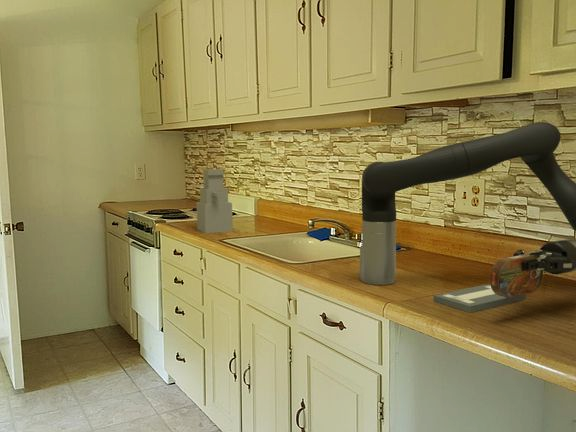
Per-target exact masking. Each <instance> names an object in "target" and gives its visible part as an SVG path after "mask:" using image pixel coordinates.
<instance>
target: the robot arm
mask: <svg viewBox="0 0 576 432" xmlns="http://www.w3.org/2000/svg"><path fill="white" fill-rule="evenodd" d="M561 136H562V135H561V132H560V130H559V128H558V127H557V126H555V125H554V124H552V123H550V122H547V121H538V122H533V123H529V124H526V125H523V126H521V127H518V128H515V129H512V130H508V131H506V132H503V133H499V134H493V135H489V136H484V137H480V138H475V139H471V140H470V139H469V140H465V141H460V142H457V143H452V144H448V145H445V146H441V147H437V148H435V149H432V150H430V151H427V152H425V153H421V154H420V155H417V156H415V157H410V158H407V159H406V158H405V159H400V160H392V161H374V162H372V163H370V164H368V165H367V166H366V167H365V168H364V170H363V171H362V177H361V213H362V214H361V215H362V216H361V217H362V218H361V219H362V222H361V223H362V224H361V225H362V226H361V230H362V231H361V232H362V233H361V236H362V237H361V238H362V239H361V240H362V241H361V246H360V247H359V279H360V280H361V281H362V283H365V284H369V285H375V286H384V285H385V286H387V285H392V284H395V283H396V269H397V268H396V266H397V265H396V264H397V263H396V262H397V260H396V258H397V256H396V255H397V244H396V243H397V207H396V193H397V192H399V191H402V190H406V189H409V188H411V187H416V186H420V185H425V184H434V183H442V182H447V181H452V180H457V179H462V178H465V177H469V176H473V175H477V174H479V173H482V172H484V171H486V170H488V169H490V168H493V167H495V166H497V165H499V164H501V163H503V162H505V161H509V160H514V159H518V158H520V159H521V160H522V161H523V162H524V164H525V165H526V166H527V168H529V169H530V170H531V172H532V173H534V175H535V176H536V177H537V179H538V180H539V181H540V183H542V185H543V186H544V187H545V188H546V189H547V192H549V194H550V195H551V197H552V198H553V200H554V201H555V203H556V204H557V206H558V207H559V209H560V210H561V213H563V215H564V217H565V219H566V220H567V222H568V223H569V224H570V227H571V228H572V229H573V231H575V232H576V182H575V181H573V179H572V178H570V177H569V176H568V175H567V174H566V172H564V171H563V169H562V168H561V167H560V165H559V163H558V161H557V160H556V159H557V158H556V157H555V155H554V152H555V151H556V150H557V148H558V147H559V144H560V142H561V138H562V137H561ZM519 255H531V256H532V255H534V256H537V257H538V258H536V259H530V260H524V261H523V262H522V270H523V271H530V270H538V271H539V270H543V272H546V273H548V274H551V275H554V276H555V275H561V274H567V273H571V272H576V238H575V239H569V238H568V239H562V240H561V239H560V240H555V241H549V242H546V243H544V244H543V245H541V247H540V248H539V249H535V250H534V251H533V250H532V251H526V252H525V251H524V249H517V250H516V251H515V252H513V256H512V257H514V256H519Z"/></svg>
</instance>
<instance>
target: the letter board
mask: <svg viewBox="0 0 576 432" xmlns="http://www.w3.org/2000/svg"><path fill="white" fill-rule="evenodd" d="M525 300H527V294H525V295H521V296H517V297H513V298H505V297H503V296H499V295H497V294H495V293H494V292H493V290H492V288H491V283H490V284H489V283H487V284H483V285H478V286H477V285H476V286H473V287H469V288H464V289H458V290H455V291H449V292H443V293H439V294H438V293H437V294H434V295H433V302H435V303H438V304H440V305H444V306H447V307H450V308H454V309H456V310H459V311H460V310H461V311H462V312H467V313H470V314H471V313H474V312H479V311H483V310H488V309H491V308H496V307H500V306H503V305H504V306H505V305H509V304H513V303H517V302H521V301H525Z"/></svg>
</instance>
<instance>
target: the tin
mask: <svg viewBox="0 0 576 432" xmlns="http://www.w3.org/2000/svg"><path fill="white" fill-rule="evenodd" d="M536 258H538V257H537V256H534V255H532V256H531V255H519V256H514V257H513V256H511V257H509V256H508V257H504V258H499V259H498V260H497V261H496V262H495V263H494V265H493V267H492V268H491V272H490V285H491V288H492V290H493V292H494V293H495V294H497V295H499V296H503V297H505V298H513V297H517V296H521V295H525V294H526V295H528V294H532V293H534V292H535V291H536V290H538V288H539V287H540V284H541V283H542V281H543V280H542V279H543V276H544V275H543V274H544V273H543V272H544V271H543V270H539V271H538V270H530V271H523V270H522V262H523V261H524V260H530V259H536Z"/></svg>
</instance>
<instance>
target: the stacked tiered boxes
mask: <svg viewBox="0 0 576 432" xmlns="http://www.w3.org/2000/svg"><path fill="white" fill-rule="evenodd" d="M224 176H227V174H224V169H219V168H214V169H213V168H212V169H211V168H210V169H206V168H205V169H203V181H199V183H201V184H203V187H199V201H196V229H197V231H200V232H202V233H204V234H211V233H223V232H224V233H226V232H233V231H234V229H233V228H234V227H233V224H234V223H233V202H230V201H229V188H228V187H224Z"/></svg>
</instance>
